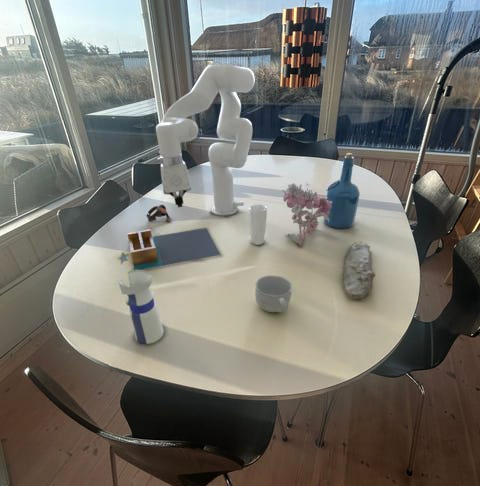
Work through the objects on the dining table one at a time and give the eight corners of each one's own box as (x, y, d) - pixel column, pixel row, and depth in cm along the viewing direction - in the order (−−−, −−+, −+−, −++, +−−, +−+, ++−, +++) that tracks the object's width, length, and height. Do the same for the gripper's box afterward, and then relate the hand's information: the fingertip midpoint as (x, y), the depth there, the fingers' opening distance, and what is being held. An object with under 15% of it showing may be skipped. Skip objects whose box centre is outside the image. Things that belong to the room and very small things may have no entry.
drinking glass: (267, 239, 133) (268, 205, 125) (263, 247, 128) (264, 212, 119) (252, 237, 135) (252, 203, 126) (247, 245, 130) (246, 210, 121)
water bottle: (126, 341, 88) (102, 264, 74) (145, 320, 94) (125, 246, 80) (152, 348, 85) (132, 271, 71) (169, 327, 92) (154, 252, 78)
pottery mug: (170, 226, 146) (158, 213, 140) (154, 233, 150) (141, 221, 144) (175, 209, 154) (164, 197, 148) (159, 216, 157) (148, 204, 152)
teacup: (253, 295, 103) (253, 275, 98) (286, 293, 103) (288, 272, 99) (259, 326, 91) (259, 304, 87) (296, 323, 92) (299, 301, 88)
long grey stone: (372, 252, 125) (345, 249, 128) (374, 239, 123) (347, 237, 126) (373, 304, 97) (339, 299, 100) (376, 289, 94) (340, 284, 98)
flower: (346, 244, 125) (345, 178, 121) (293, 249, 119) (291, 179, 115) (319, 242, 144) (317, 185, 141) (272, 246, 138) (269, 186, 134)
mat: (206, 229, 142) (206, 227, 142) (220, 255, 123) (220, 254, 123) (131, 241, 134) (130, 240, 134) (134, 272, 115) (134, 270, 115)
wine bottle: (355, 219, 147) (369, 151, 130) (351, 231, 137) (365, 159, 120) (325, 214, 152) (335, 148, 135) (319, 226, 142) (328, 156, 125)
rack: (152, 241, 133) (150, 229, 130) (158, 260, 120) (155, 247, 117) (130, 245, 130) (127, 233, 127) (133, 265, 118) (130, 252, 115)
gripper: (152, 165, 113) (162, 213, 124) (194, 159, 117) (200, 206, 128) (150, 159, 119) (159, 205, 130) (190, 154, 123) (196, 199, 134)
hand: (179, 205), depth 129 cm, fingers closed
